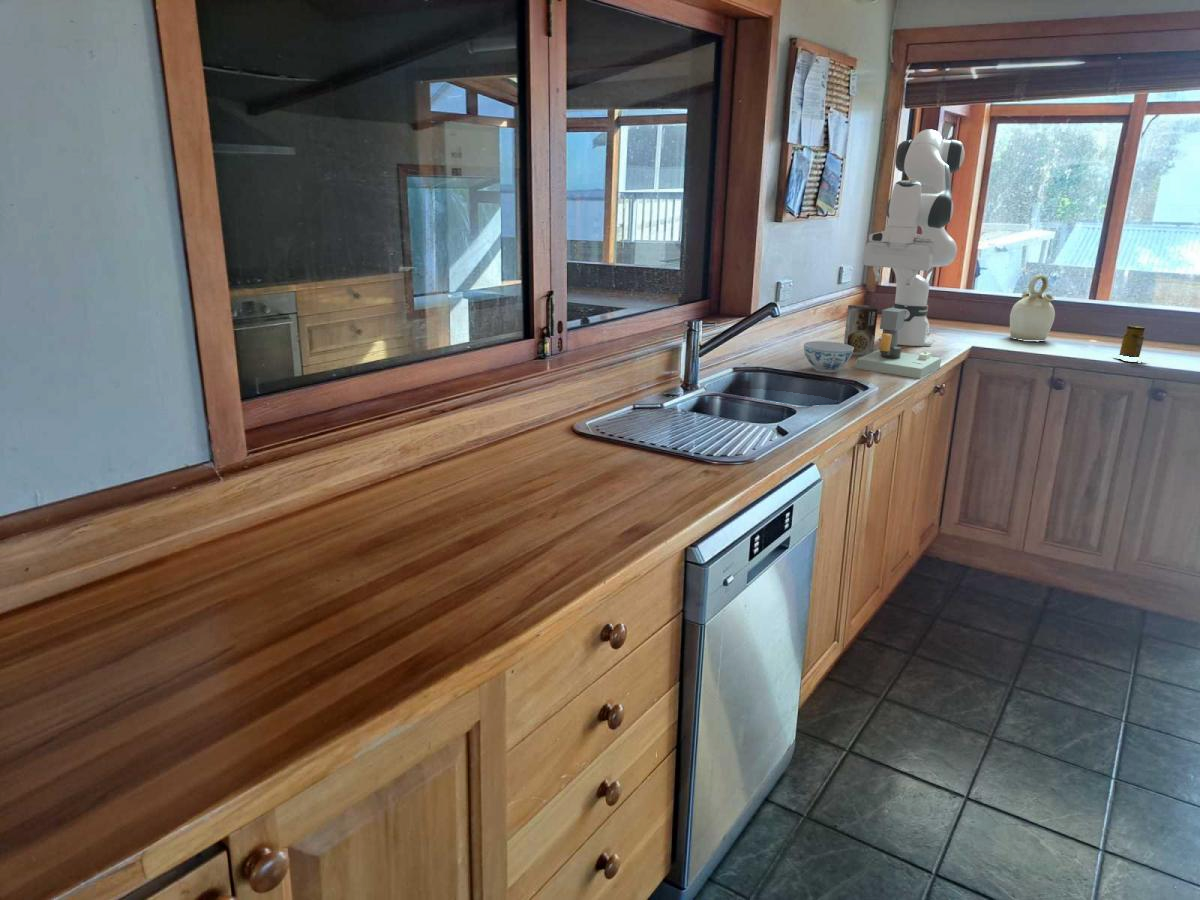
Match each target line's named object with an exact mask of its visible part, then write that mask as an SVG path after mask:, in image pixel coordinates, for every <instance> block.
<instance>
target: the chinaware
mask: <svg viewBox="0 0 1200 900" xmlns="http://www.w3.org/2000/svg"><path fill="white" fill-rule="evenodd" d="M803 350H804V356H805V357H806V359H807V361H808V362H809V363H810V364H811V365H812V366H813V367H814V371H816V372H819V371H820V373H825V372H834V373H837V371H838V369H841V368H842V367H843V366H845V365H846V364H847V362H849V360H850V359H851V357H852V353H853V350H854V347H852V346H850V345H847V344H844V342H843V343H841V342H835V341H827V340H826V341H824V340H823V341H822V340H814V341H812V340H811V341H806V342H804V343H803Z"/></svg>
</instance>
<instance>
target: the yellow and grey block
mask: <svg viewBox="0 0 1200 900" xmlns="http://www.w3.org/2000/svg"><path fill="white" fill-rule="evenodd" d="M880 336H881V339H880V345H879V349H880V350H881V356H882V357H885V358H900V355H901V352H902V346H901V347H900V346H898V345H897V346H891V338H892V334H882V333H881V335H880Z"/></svg>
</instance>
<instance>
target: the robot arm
mask: <svg viewBox="0 0 1200 900" xmlns="http://www.w3.org/2000/svg"><path fill="white" fill-rule="evenodd" d="M965 155H966V153H965V148H964V144H963V142H961V141H960V140H955V139H951V140H949V139H943V136H942V135H941V133H940V132H939V131H937V130H934V129H924V130H921V131H920V132H918V133H917V134H916V135H915V136H914V137H913V139H907V140H903V141H901V142H900V143H899V144H898V146H897V148H896V150H895V152H894V158H893V159H894V164H895V168H896V169H897V170H898V171H899V172H903V173H905V175H906V176H907V178H909V180H908V179H906V180H898V181H896V182H895V184H894V186H893V189H892V191H891V196H890V198H889V199H888V201H887V207H886V213H885V215H886V218H888V221H887V223H886V225H885V226H886V227H885V230H881V231H877V232H873V233H871V234H869V235H868V241H869V242H867V243H866V245H865V246H864V247H865V248H864V251H863V254H862V264H863V266H867V267H873V268H872V270H873V273H874V276H875V277H874V278H875V280H874V282H875V283H876V282H877V283H882V282H883V281H882V280H883V276H882V275H880V273H879V272H880V270H881V269H880V268H887V269H888V268H889V269H892V270H893V273H894V275H895V280H896V281H895V282H896V289H895V299H894V303H893V305H892V307H891V308H897V309H905V316H904V323H903V328H901V329H899V335H898V342H897V345H900V346H901V345H902V346H912V347H913V346H914V347H915V346H916V347H921V346H922V347H923V346H924V347H932V345H933V342H934V341H935V339H934V337H933V336H930V333H931V332H930V323H929V319H928V317H927V315H928V311H929V305H928V300H929V294H930V293H929V290H930V284H929V281H928V280H927V279H926V278H925V277H923V276H921V275H920V274H919V271H923V272H927V271H930V270H931V268H937V267H939V268H940V267H941V268H942V267H948V266H949V265H951V264H952V263H953V262H954V260H955V259H956V258H957V254H958V246H957V243H956V241H955V240H954V239H953V237H951V235H949V233H948V232H947V230H946V229H945V226H946V225H948V224H950V222H951V219H952V218H953V215H954V202H953V199H952V198H953V196H952V177H951V176H952V175H951V174H953V173H954V174H955V173H956V172H957V171H958V170H960V169H961V166H962V165H963V162H964V160H965V157H966V156H965ZM918 227H920V228H921V234H919V233H918V232H917V231H918ZM881 336H882V335H880V336H879V340H881Z"/></svg>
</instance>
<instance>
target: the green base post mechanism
mask: <svg viewBox="0 0 1200 900" xmlns="http://www.w3.org/2000/svg"><path fill="white" fill-rule="evenodd" d="M904 316H905V309H897V308H892V307H888V308H885V309H882V311H881V317H880V323H879V329H880V330H882V333H881V335H882V334H892V338H891V346H898V344H897V342H898V335H899V329H901V328H903V323H904ZM941 362H942V357H935V356H932V352H928V351H923V352H920V353H918V354H917V353H911V352H910V353H909V352H903V351H901V355H900V358H885V357H882V356H881V350H880V348H879V349H877V350H875V351H874V350H873V352H872V353H869V354H867V355H862V356H860V357H858V358H856V364H855V369H857V370H865V371H869V372H870V371H871V372H876V373H884V374H889V375H894V376H896V375H897V376H902V377H908V378H915V379H922V378H924V377H925V376H927V375H929V374H931V373H932V372H934V371H936V370H938V369H939V368H940V367H941Z"/></svg>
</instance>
